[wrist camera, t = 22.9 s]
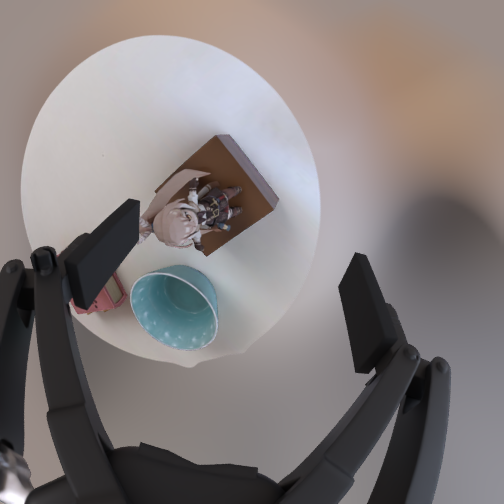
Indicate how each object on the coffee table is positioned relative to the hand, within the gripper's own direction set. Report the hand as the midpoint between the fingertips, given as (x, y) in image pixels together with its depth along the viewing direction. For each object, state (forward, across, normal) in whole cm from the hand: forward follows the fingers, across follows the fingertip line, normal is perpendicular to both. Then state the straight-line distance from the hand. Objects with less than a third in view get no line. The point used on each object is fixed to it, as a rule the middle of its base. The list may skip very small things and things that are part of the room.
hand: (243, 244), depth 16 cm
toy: (+20, -5, -7) cm, 22 cm away
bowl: (+24, -7, -27) cm, 37 cm away
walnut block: (+26, -5, -7) cm, 27 cm away
